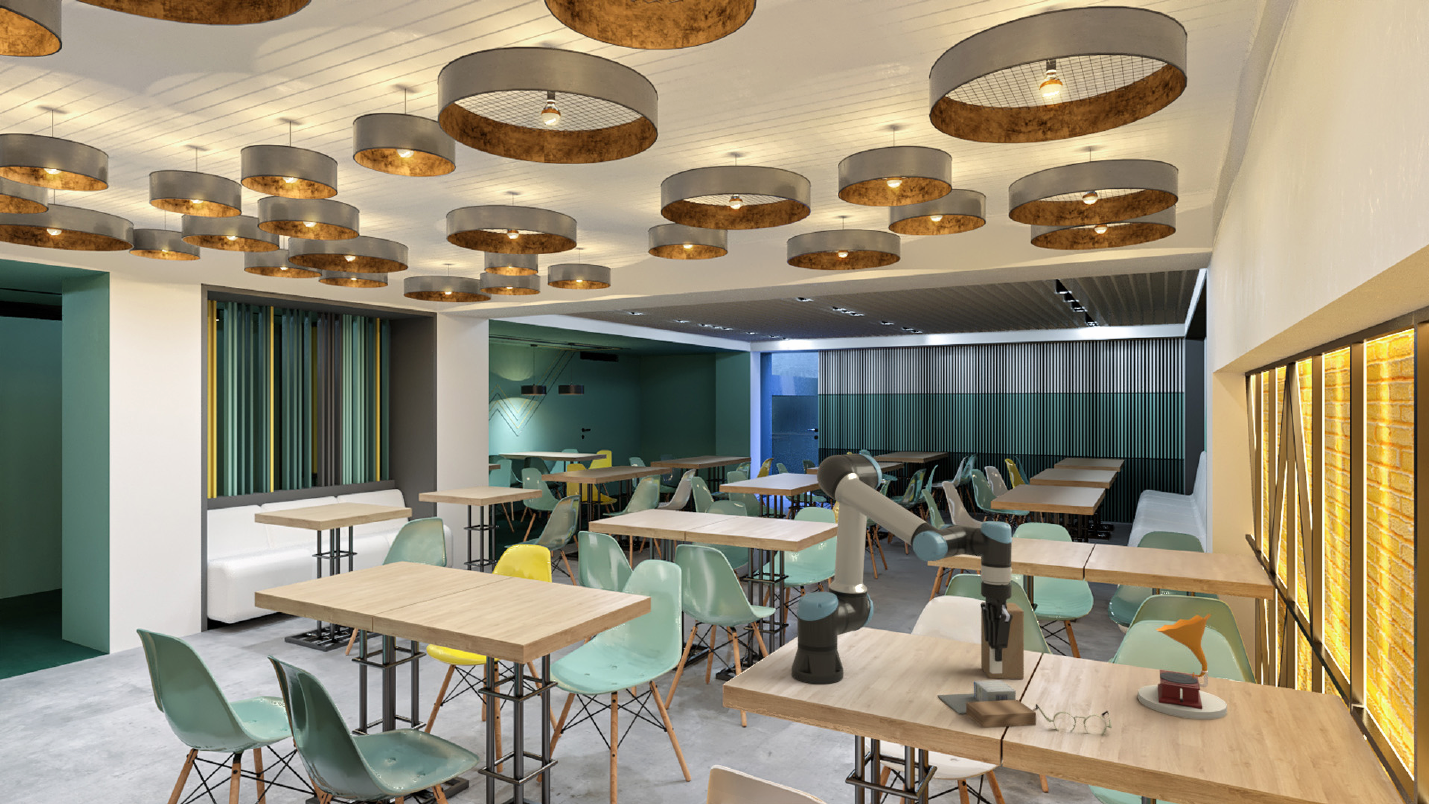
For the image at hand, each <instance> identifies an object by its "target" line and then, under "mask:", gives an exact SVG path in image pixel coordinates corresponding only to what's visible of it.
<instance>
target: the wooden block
mask: <svg viewBox="0 0 1429 804" xmlns="http://www.w3.org/2000/svg"><path fill="white" fill-rule="evenodd" d="M981 603H985V601H982V602H981ZM1006 603H1007V612H1008V614H1012V615H1013V618H1012V620H1011V624H1010V631H1009V639H1008V646H1007V648H1003V649H1002V673H996V674H992V673H991V672H990V646H989V645H988V642H986V641H985V634H984V625H983V615H982V610H981V609H980V610H981V611H980V612H981V613H980V616H981V617H980V618H981V619H980V622H981V623H980V624H981V625H980V627H981V628H980V639H981V640H980V643H981V644H980V647H981V648H980V655H981V657H980V658H981V659H980V661H981V663H980V666H981V669H982V670H983V671H984V673H985V674H986V676H987V677H988V678H989V679H1000V680H1004V679H1005V680H1008V679H1009V680H1024V679H1025V678H1024V677H1025V676H1024V674H1025V673H1024V672H1025V671H1024V670H1025V668H1024V667H1025V663H1024V661H1025V657H1024V656H1025V653H1024V651H1025V643H1024V641H1025V640H1024V639H1025V634H1024V633H1025V632H1024V631H1025V630H1024V629H1025V624H1024V623H1025V622H1024V621H1025V619H1024V618H1025V617H1024V615H1025V614H1024V612H1025V611H1024V610H1023V609H1022V608H1021V607H1020V606H1018V605H1017V604H1016V603H1015V602H1006Z"/></svg>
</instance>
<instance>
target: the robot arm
mask: <svg viewBox="0 0 1429 804" xmlns="http://www.w3.org/2000/svg"><path fill="white" fill-rule="evenodd" d="M882 478H883V474H882V470H881V467H880V464H879V463H878V461H876V459H875V458H874V457H872V456H871V455H868V454H862V453H849V454H834V455H830V456H828V457H826V458H825V459H823V461H821V462H820V463H819V466H818V468H817V471H816V479H817V483H818V486H819V487H820V489H821V490H822V491H823V493H825V494H826V495H827V496H829V497H830V498H831V499H833V500H834V501H836V502H838V511H837V512H838V516H837V530H836V531H837V532H836V533H837V534H836V546H835V547H836V550H835V567H834V577H833V578H834V580H832V582H831V583H829V585H828V591H817V592H813V591H812V592H809V593H806V594H803V595H802V596H801V597H799V599H798V602H797V609H796V615H797V617H796V618H797V647H796V648H797V649H796V652H795V656H794V658H793V660H792V661H793V662H792V665H791V676H792V677H793V678H794V680H797V681H801V682H804V683H808V684H816V685H817V684H818V685H819V684H821V685H822V684H823V685H825V684H826V685H827V684H834V683H837V682H839V681H842V680H843V679H844V667H843V662H842V661H841V657H840V653H839V650H838V636H841V635H845V634H847V633H850V632H851V633H852V632H856V631H859V630H860V629H863V628H864V627H866V626H867V625H868V624H869V623H870V622H871V620H872V619H873V615H874V609H875V608H874V602H873V600H872V599H871V596H870V595H869V593H868V587H867V586H866V585H865V584H864V582H863V581H864V569H865V568H864V566H865V565H864V564H865V551H866V533H867V520H868V519H870V520H871V521H873V522H874V523H876V524H877V525H879V526H880V527H882V528H883V529H885V530H886V531H888V532H889V533H891V534H892V535H894V536H896V537H897V538H898V539H901V540H902V541H903V542H905V543H907V544H908V545H910V546H911V547H912V549H913V552H914V553H915V555H916V557H917V558H918V559H920V560H921V561H924V562H937V561H940V560H943V559H947V558H952V557H956V556H957V557H958V556H962V555H965V556H966V555H967V556H974V557H980V579H981V580H982V581H981V583H980V595H981V596H982V597H983V598H985V600H984V602H985V603H982V602H981V603H980V610H982V615H983V625H984V634H985V641H986V642H988V645H989V646H990V672H991V673H992V674H996V673H1002V649H1003V648H1007V646H1008V639H1009V631H1010V624H1011V620H1012V618H1013V615H1012V614H1008V612H1007V603H1008V602H1007V600H1009V599H1011V598H1012V591H1013V589H1012V584H1011V581H1012V572H1013V569H1012V543H1013V537H1012V527H1011V525H1010V524H1009V523H1008V522H1004V521H994V520H989V521H986V520H985V521H983V522H982V523H981V525H980V527H975V526H974V527H972V526H966V525H958V524H955V523H954V524H942V526H941V527H939V528H936V527H935V526H933V525H932V524H930V523H928V522H927V521H926V520H924V519H922V518H921V517H919V516H917V515H916V514H914V513H913V512H911V511H909V510H908V509H907V508H905V507H903V506H902V505H900V504H899V503H896V502H895V501H894V500H892V499H891V498H889V497H887V496H885V495H884V494H883V493H881V492H879V491H877V489H878V487H880V485H881V482H882Z"/></svg>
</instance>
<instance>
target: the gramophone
mask: <svg viewBox="0 0 1429 804" xmlns="http://www.w3.org/2000/svg"><path fill="white" fill-rule="evenodd" d="M1211 615H1212V613H1211V614H1210V613H1207V615H1206V616H1205V617H1203V616H1200V615H1198V614H1196V615H1195V616H1193V617H1192V618H1190V619H1181V618H1180V619H1178V621H1175V623H1173V624H1164V625H1163V626H1162V627H1159V628H1155V630H1157V632H1158V633H1162V634H1164V635H1165V636H1167V637H1168V638H1170V639H1172V640H1174V641H1175V642H1177V643H1180V644H1182V645H1183V646H1185V647H1187V649H1189V650H1190V651H1191V652H1192V653H1193V655H1194V656H1195V657H1196V659H1197V660H1198V662H1200V665H1201V669H1200V673H1199V674H1195V672H1192V673H1186V672H1180V671H1173V670H1166V669H1159V681H1160V682H1159V683H1157V684H1152V685H1151V684H1150V685H1145V686H1142V687H1140V688H1139V689H1138V690H1137V699H1138V700H1139V703H1140V704H1142V705H1143V706H1144V707H1146V708H1149V709H1151V710H1153V711H1156V712H1159V713H1161V714H1165V715H1168V716H1169V715H1170V716H1173V717H1178V718H1185V719H1193V720H1216V719H1221V718H1223V717H1225V716H1226V715H1227V712H1228V704H1227V702H1225V700H1224V699H1222V698H1220V697H1219V696H1217V695H1214V694H1212V693H1209V692H1206V691H1203V690H1201V688H1206V687H1207V686H1208V684H1209V671H1208V663H1207V662H1208V661H1207V659H1206V655H1205V653H1204V650H1203V647H1202V640H1203V636H1204V633H1205V630H1206V625H1207V621H1208V619H1210V617H1211ZM1201 677H1203V681H1204V683H1201V682H1199V678H1201Z"/></svg>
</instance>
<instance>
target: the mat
mask: <svg viewBox="0 0 1429 804" xmlns="http://www.w3.org/2000/svg"><path fill="white" fill-rule="evenodd" d="M937 697H938V698H939V699H940V700H941V699H942V700H941V701H942V702H943V703H944V704H946V705H947V706H948V707H949V708H950V709H952V710H953V711H954V712H955V713H956V714H957V715H967V714H966V702H980V701H979V700H978V699H976V698H975V697H974V692H973V693H972V692H971V693H955V694H952V693H951V694H937Z"/></svg>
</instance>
